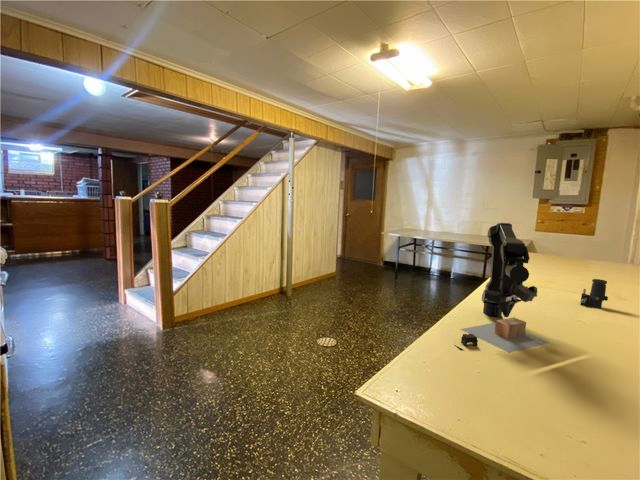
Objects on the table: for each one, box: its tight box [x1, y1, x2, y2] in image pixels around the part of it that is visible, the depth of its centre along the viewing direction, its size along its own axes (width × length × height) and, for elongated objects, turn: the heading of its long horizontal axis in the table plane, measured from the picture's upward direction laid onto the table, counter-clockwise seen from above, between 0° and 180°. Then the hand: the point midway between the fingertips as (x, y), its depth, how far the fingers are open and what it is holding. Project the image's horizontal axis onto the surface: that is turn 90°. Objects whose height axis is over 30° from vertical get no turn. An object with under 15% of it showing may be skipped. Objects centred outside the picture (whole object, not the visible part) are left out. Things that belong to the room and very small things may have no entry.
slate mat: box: [460, 321, 550, 353], centre depth 117 cm, size 20×22×1 cm
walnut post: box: [495, 317, 527, 339], centre depth 118 cm, size 5×5×10 cm
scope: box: [580, 278, 609, 310], centre depth 156 cm, size 8×14×10 cm
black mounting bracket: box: [453, 333, 479, 351], centre depth 108 cm, size 12×7×5 cm, turn 96°
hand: (505, 316), depth 116 cm, fingers closed
